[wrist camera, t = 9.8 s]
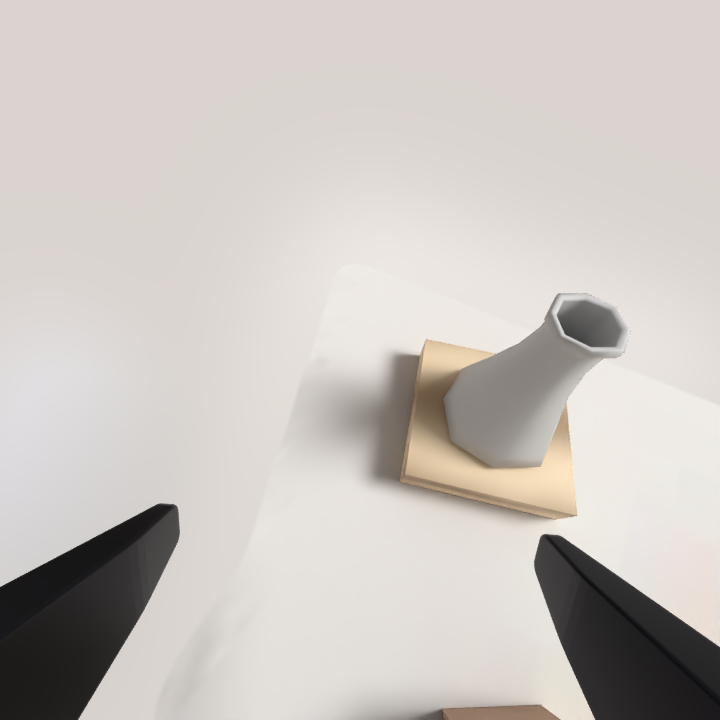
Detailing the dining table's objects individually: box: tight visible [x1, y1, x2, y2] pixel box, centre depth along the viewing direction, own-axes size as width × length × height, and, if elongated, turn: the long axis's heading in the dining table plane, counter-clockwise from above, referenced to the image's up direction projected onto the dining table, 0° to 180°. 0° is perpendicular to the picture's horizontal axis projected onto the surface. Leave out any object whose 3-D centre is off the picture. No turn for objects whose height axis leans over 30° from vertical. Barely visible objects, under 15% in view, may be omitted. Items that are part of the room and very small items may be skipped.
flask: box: [443, 293, 631, 468], centre depth 18 cm, size 7×7×10 cm
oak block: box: [400, 339, 577, 520], centre depth 23 cm, size 10×10×3 cm
